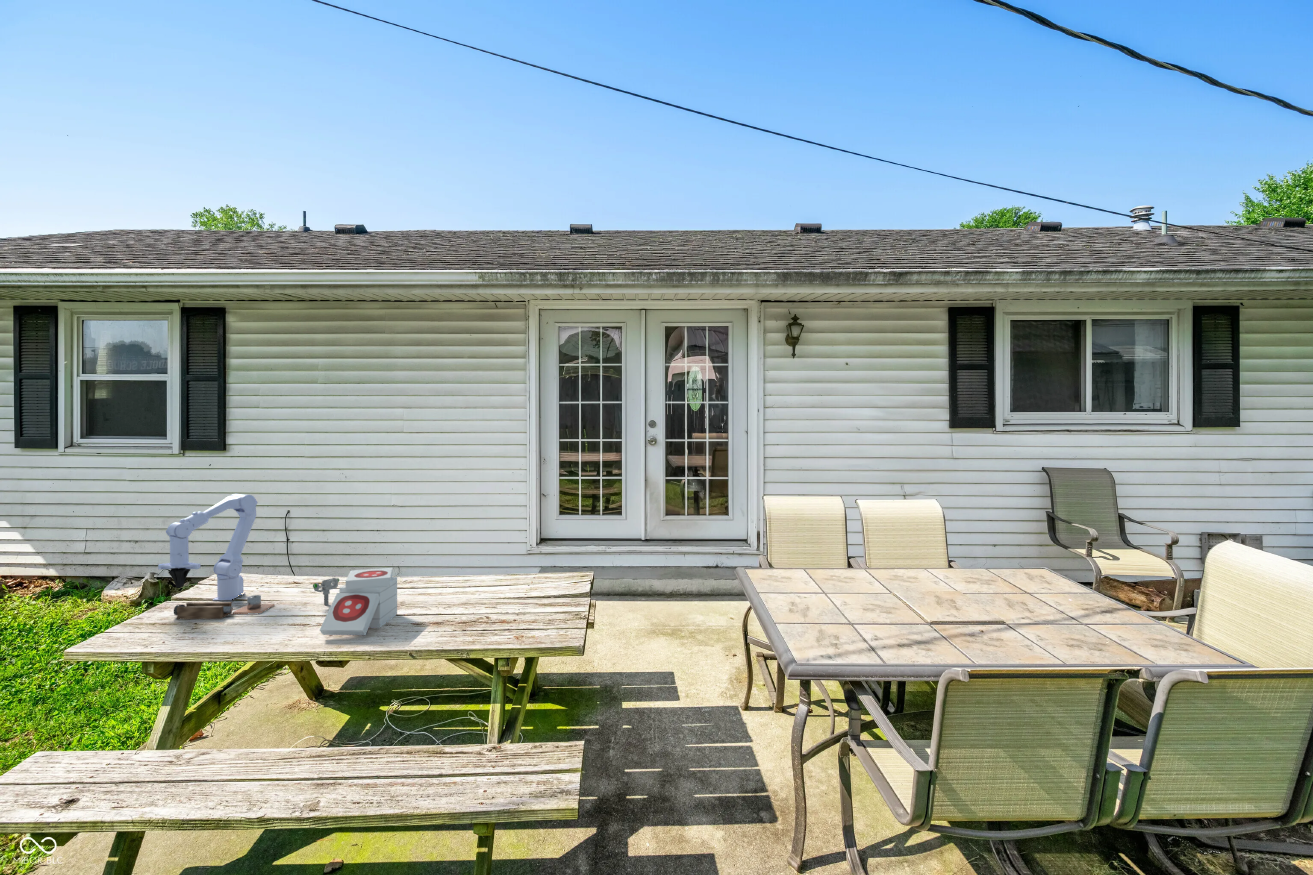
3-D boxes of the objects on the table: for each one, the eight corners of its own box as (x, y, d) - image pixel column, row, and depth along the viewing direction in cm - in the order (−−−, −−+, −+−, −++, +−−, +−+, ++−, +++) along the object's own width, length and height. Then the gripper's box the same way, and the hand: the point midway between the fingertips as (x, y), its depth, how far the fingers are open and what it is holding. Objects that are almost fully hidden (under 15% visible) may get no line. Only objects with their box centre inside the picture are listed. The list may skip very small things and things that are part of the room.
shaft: (173, 616, 222) (173, 606, 222) (181, 613, 226) (181, 603, 226) (227, 616, 223) (227, 606, 223) (234, 612, 227) (234, 602, 227)
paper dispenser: (314, 640, 202) (313, 589, 201) (357, 612, 232) (357, 567, 231) (369, 641, 202) (369, 590, 202) (405, 612, 232) (405, 567, 232)
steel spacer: (251, 606, 235) (251, 594, 234) (263, 605, 235) (263, 594, 235) (244, 609, 230) (244, 598, 230) (256, 609, 230) (256, 598, 230)
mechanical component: (311, 607, 236) (311, 583, 236) (335, 600, 245) (335, 577, 245) (316, 608, 235) (316, 584, 235) (340, 601, 244) (340, 578, 244)
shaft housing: (177, 619, 221) (176, 607, 221) (188, 613, 227) (188, 602, 227) (221, 618, 222) (221, 606, 222) (231, 613, 228) (231, 602, 228)
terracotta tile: (248, 605, 237) (248, 603, 237) (274, 605, 238) (274, 603, 238) (232, 614, 227) (232, 612, 227) (259, 613, 228) (259, 611, 228)
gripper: (151, 555, 225) (152, 590, 226) (191, 555, 226) (191, 589, 227) (165, 551, 232) (166, 584, 233) (204, 551, 233) (204, 584, 234)
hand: (179, 586), depth 230 cm, fingers closed
